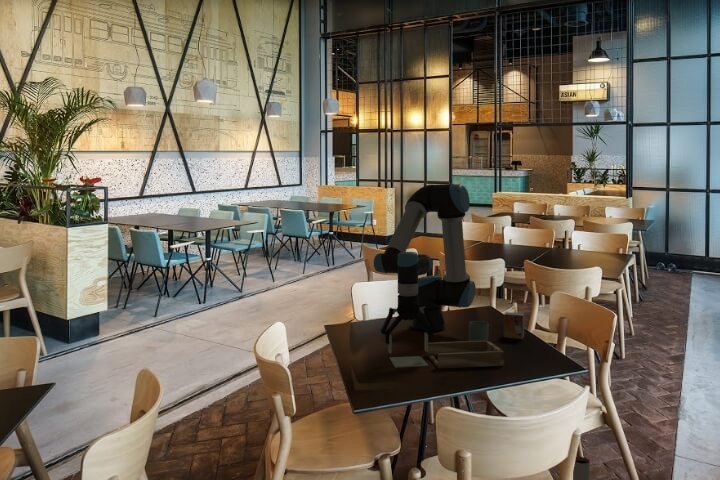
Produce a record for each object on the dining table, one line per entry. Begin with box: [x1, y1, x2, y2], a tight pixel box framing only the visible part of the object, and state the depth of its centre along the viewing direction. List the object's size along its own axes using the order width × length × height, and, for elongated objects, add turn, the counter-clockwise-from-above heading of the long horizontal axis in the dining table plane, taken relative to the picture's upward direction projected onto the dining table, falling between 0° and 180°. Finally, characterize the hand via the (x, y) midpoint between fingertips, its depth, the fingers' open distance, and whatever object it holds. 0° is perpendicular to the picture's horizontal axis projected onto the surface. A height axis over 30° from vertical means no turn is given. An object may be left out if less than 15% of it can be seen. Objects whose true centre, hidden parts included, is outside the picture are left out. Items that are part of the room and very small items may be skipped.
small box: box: [503, 311, 526, 340], centre depth 252 cm, size 8×6×10 cm
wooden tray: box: [426, 339, 505, 369], centre depth 219 cm, size 17×24×5 cm
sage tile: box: [389, 355, 429, 369], centre depth 218 cm, size 12×12×1 cm
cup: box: [468, 320, 490, 341], centre depth 237 cm, size 8×8×10 cm
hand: (408, 351), depth 217 cm, fingers open, 13 cm apart
